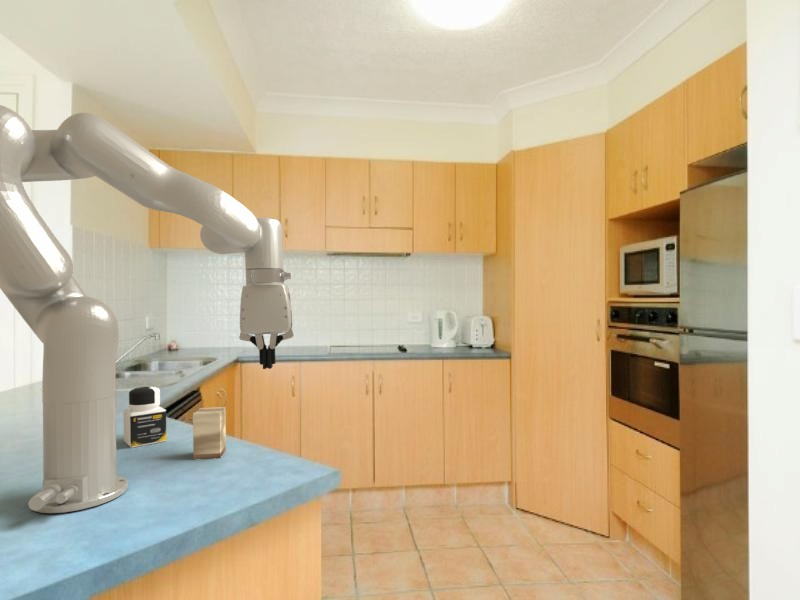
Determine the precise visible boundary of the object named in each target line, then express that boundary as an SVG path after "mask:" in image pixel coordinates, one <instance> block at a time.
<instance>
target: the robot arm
mask: <svg viewBox="0 0 800 600" xmlns="http://www.w3.org/2000/svg"><path fill="white" fill-rule="evenodd" d="M93 177H97V179H100V180H102V181H103V182H105V183H106V184H108V185H110V186H111V187H113V188H114V189H116V190H117V191H119V192H120V193H122V194H123V195H125V197H126V196H127V197H128V198H130V199H131V200H133V201H134V202H136V203H137V204H139V205H140V206H142V207H145V208H147V209H151V210H153V211H158V212H164V213H171V214H175V215H179V216H182V217H185V218H187V219H189V220H192V221H194V222H196V223H198V224H200V225H202V226H201V228H200V232H199V236H200V240H201V243H202V245H203V246H204V247H205V248H206V249H207V250H208V251H209V252H212V253H215V254H218V255H219V254H220V255H228V254H229V255H230V254H240V253H243V254H244V264H245V265H244V267H245V285H243V286H242V289H241V295H240V306H239V307H240V308H239V330H240V333H239V340H240V341H243V342H244V341H245V342H248V343H249V342H250V343H251V344H253V345H254V346H255V347H256V348H257V349H258V350H259V355H258V356H259V365H262V369H263V370H266V369H269V370H270V369H272V368H273V367H274V365H276V362H277V361H276V360H277V359H276V348H277V347H278V346H279V344H280V343H281V342H282V341H286V340H290V339H292V338H293V337H294V332H293V313H292V312H293V311H292V310H293V309H292V302H291V295H290V289H289V286H288V285H287V284H285V281H287V280H291V278H292V277H291V276H292V274H291V272H286V271H285V270H284V246H283V226H282V224H281V221H279V220H278V219H276V218H271V217H256V216H255V215H254V212H253V213H252V211H251V210H250V209H248V208H247V207H246V206H245V205H243V204H242V203H241V202H240V201H238V200H236V198H234V197H233V196H232V195H230V194H228V193H227V192H225V191H224V190H222V189H220V188H219V187H218V186H215V185H213V184H211V183H209V182H206V181H205V180H201V179H199V178H197V177H195V176H192V175H191V174H188V173H185V172H183V171H180V170H178V169H176V168H174V167H172V166H170V165H169V164H167V162H165V161H163V160H162V159H161V158H159V157H158V156H157V155H155V154H153V153H152V152H151V151H150V150H148V149H146V148H145V147H143V145H141V144H139V143H138V142H137V141H135V140H134V139H133V138H131V137H130V136H128V135H127V134H126V133H124V132H123V131H121V130H120V129H119V128H118V127H116V126H115V125H113V124H111V123H110V122H109V121H107V120H105V119H104V118H102V117H101V116H98V115H97V114H94V113H89V112H78V113H74V114H72V115H70V116H67V118H66V119H64V121H63V120H62V122H61V124H60V125H59V127H58V128H57V129H32V128H31V127H30V125H29V124H28V122H27V121H26V120H25V119H24V118H23V117H22V116H21V115H20V114H19V113H17V112H16V111H14V110H13V109H11V108H9V107H6V106H4V105H2V104H0V290H1V292H2V293H3V295H5V297H6V298H7V299H8V301H9V302H10V303H11V305H12V306H13V308H14V309H15V310H16V311H17V312H18V314H19V315H20V316H21V318H22V319H23V320H24V322H25V323H26V324H27V326H29V328H30V329H31V330H32V332H33V333H34V334H35V336H36V337H37V338H38V339H39V341H40V342H41V343H42V344H43V357H42V358H43V359H42V379H41V381H42V385H41V386H42V387H41V389H42V391H41V392H42V393H41V394H42V395H41V396H42V399H41V400H42V452H43V453H42V459H43V461H42V465H43V466H42V469H43V470H42V471H43V473H42V474H43V476H42V477H43V480H42V490H39V492H36V493H35V494H34V495H33V496H32V497H31V498H30V499H29V500H28V503H27V504H28V508H29V510H32V511H34V512H37V513H41V514H61V513H63V514H64V513H69V512H76V511H81V510H86V509H90V508H92V507H97V506H99V505H103V504H106V503H108V502H110V501H112V500H115V499H117V498H119V497H120V496H121V495H123V494H124V493H125V492H126V491H127V490H128V487H129V485H128V484H129V483H128V479H126V478H125V477H124V476H121V475H117V402H116V401H117V394H116V393H117V392H116V391H117V388H116V387H117V386H116V383H117V382H116V375H117V373H116V370H117V369H116V367H117V355H118V345H119V324H118V320H117V317H116V315H115V314H114V312H113V310H112V309H111V308H110V307H109V305H107V304H106V303H104V302H103V301H101V300H99V299H97V298H94V297H90V296H87V294H86V293H85V292H84V290H83V288H81V286H80V284H79V283H78V281H77V280H76V279H75V277H74V276H73V274H74V264H73V261H72V258H71V256H70V254H69V252H68V251H67V250H66V249H65V247H64V246H63V245H62V244H61V242H60V241H59V240H58V238H57V237H56V236H55V234H54V233H53V232H52V230H51V229H50V227H49V226H48V224H47V223H46V222H45V220H44V219H43V217H42V216H41V215H40V213H39V211H38V210H37V208H36V206H35V204H34V203H33V202H32V200H31V199H30V197H29V195H28V193H27V191H26V190H25V189H26V188H25V187H24V184H23V183H32V182H33V183H34V182H55V181H59V182H60V181H71V180H80V179H82V180H83V179H89V178H93ZM264 335H270V337H269V345H268V346H267V345H266V343H265V336H264Z"/></svg>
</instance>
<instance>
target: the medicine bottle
mask: <svg viewBox="0 0 800 600" xmlns="http://www.w3.org/2000/svg"><path fill="white" fill-rule="evenodd" d="M160 405H161V389H160V388H159V387H156V386H141V387H136V388H133V389H131V390H130V391H129V392H128V407H129V408H127V409H124V410H123V442H124V443H125V444H126V445H127V446H129V448H131V449H133V448H138V447H143V446H148V445H154V444H159V443H165V442H167V409H165V408H164V407H162V406H160Z"/></svg>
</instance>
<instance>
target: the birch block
mask: <svg viewBox="0 0 800 600" xmlns="http://www.w3.org/2000/svg"><path fill="white" fill-rule="evenodd" d="M226 415H227V414H226V406H220V407H219V406H218V407H217V406H216V407H215V406H214V407H200V408H197V410H195V412H193V413H192V432H193V433H192V439H193V440H192V441H193V443H192V446H193V451H192V453H193V454H192V455H193V461H197V460H196V459H201V460H214V458H216V459H221V458H222V457H221V456H223V455H224V454H225V453H226V451H227V435H226V434H227V432H226V429H227V428H226V427H227V426H226V425H227V424H226V421H227V420H226Z"/></svg>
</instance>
